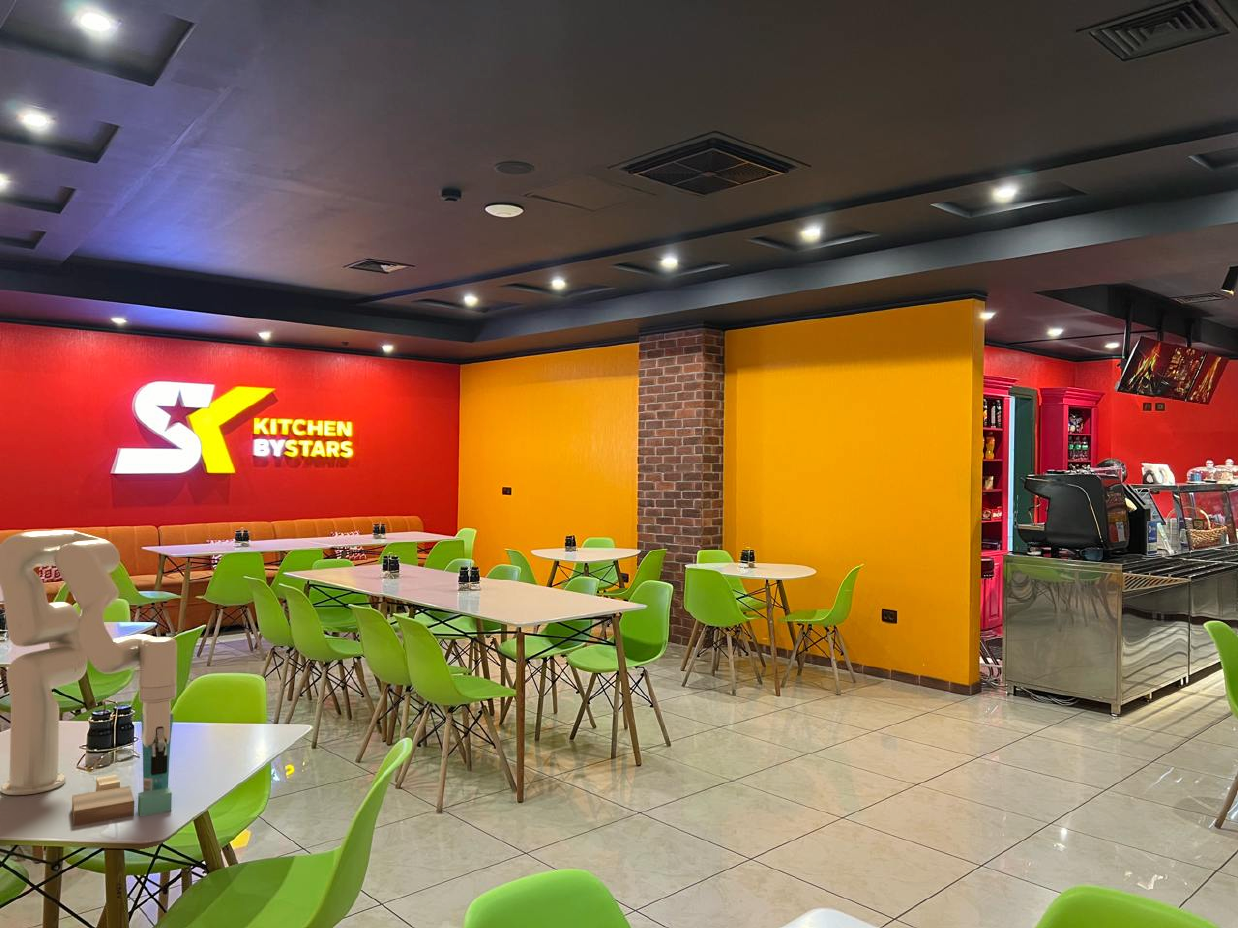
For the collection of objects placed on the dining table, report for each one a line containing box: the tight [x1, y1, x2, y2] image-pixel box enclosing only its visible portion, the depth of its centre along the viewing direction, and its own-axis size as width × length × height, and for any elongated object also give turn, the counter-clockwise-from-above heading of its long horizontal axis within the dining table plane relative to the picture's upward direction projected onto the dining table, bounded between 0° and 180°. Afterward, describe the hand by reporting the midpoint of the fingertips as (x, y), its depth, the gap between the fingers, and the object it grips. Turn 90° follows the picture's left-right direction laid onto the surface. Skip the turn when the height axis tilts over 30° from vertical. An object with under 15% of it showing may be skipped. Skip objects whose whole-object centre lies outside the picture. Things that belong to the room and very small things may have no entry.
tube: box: [140, 712, 175, 792], centre depth 197 cm, size 7×5×19 cm, turn 96°
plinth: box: [71, 785, 135, 826], centre depth 189 cm, size 11×11×3 cm
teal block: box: [137, 787, 173, 817], centre depth 190 cm, size 6×4×4 cm, turn 125°
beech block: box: [95, 774, 121, 792], centre depth 198 cm, size 6×4×4 cm, turn 37°
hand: (156, 767), depth 197 cm, fingers open, 9 cm apart
